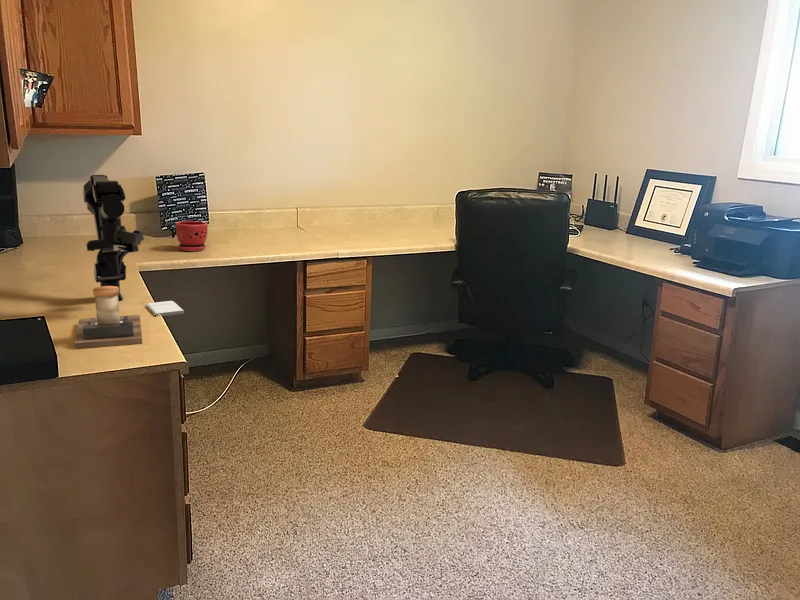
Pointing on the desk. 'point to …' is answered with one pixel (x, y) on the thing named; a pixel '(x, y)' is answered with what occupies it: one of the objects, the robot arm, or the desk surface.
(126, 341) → the track board
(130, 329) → the grey slider guide rails
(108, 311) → the knob slider
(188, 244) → the plant pot
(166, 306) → the external hard drive
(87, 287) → the desk surface
